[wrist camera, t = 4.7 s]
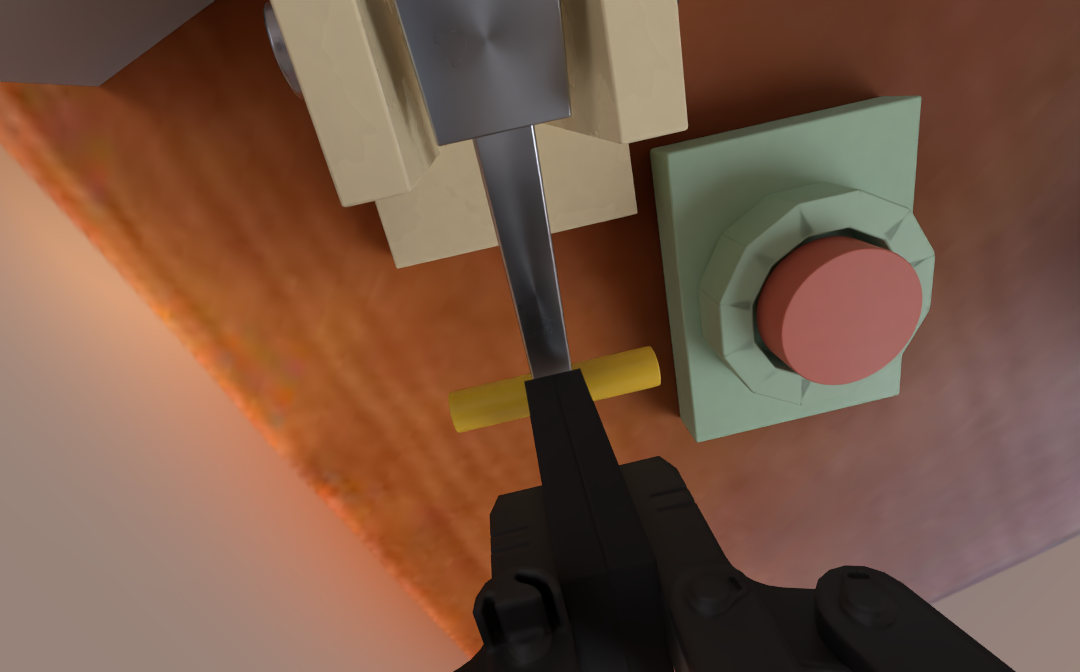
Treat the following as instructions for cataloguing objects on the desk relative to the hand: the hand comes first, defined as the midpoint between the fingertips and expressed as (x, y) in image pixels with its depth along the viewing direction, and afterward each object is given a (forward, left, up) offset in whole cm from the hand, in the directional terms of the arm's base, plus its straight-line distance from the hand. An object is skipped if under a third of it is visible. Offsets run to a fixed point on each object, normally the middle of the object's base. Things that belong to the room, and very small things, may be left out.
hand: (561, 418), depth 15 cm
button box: (+1, +10, -8) cm, 13 cm away
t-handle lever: (-6, 0, 0) cm, 6 cm away
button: (+1, +10, -5) cm, 11 cm away
